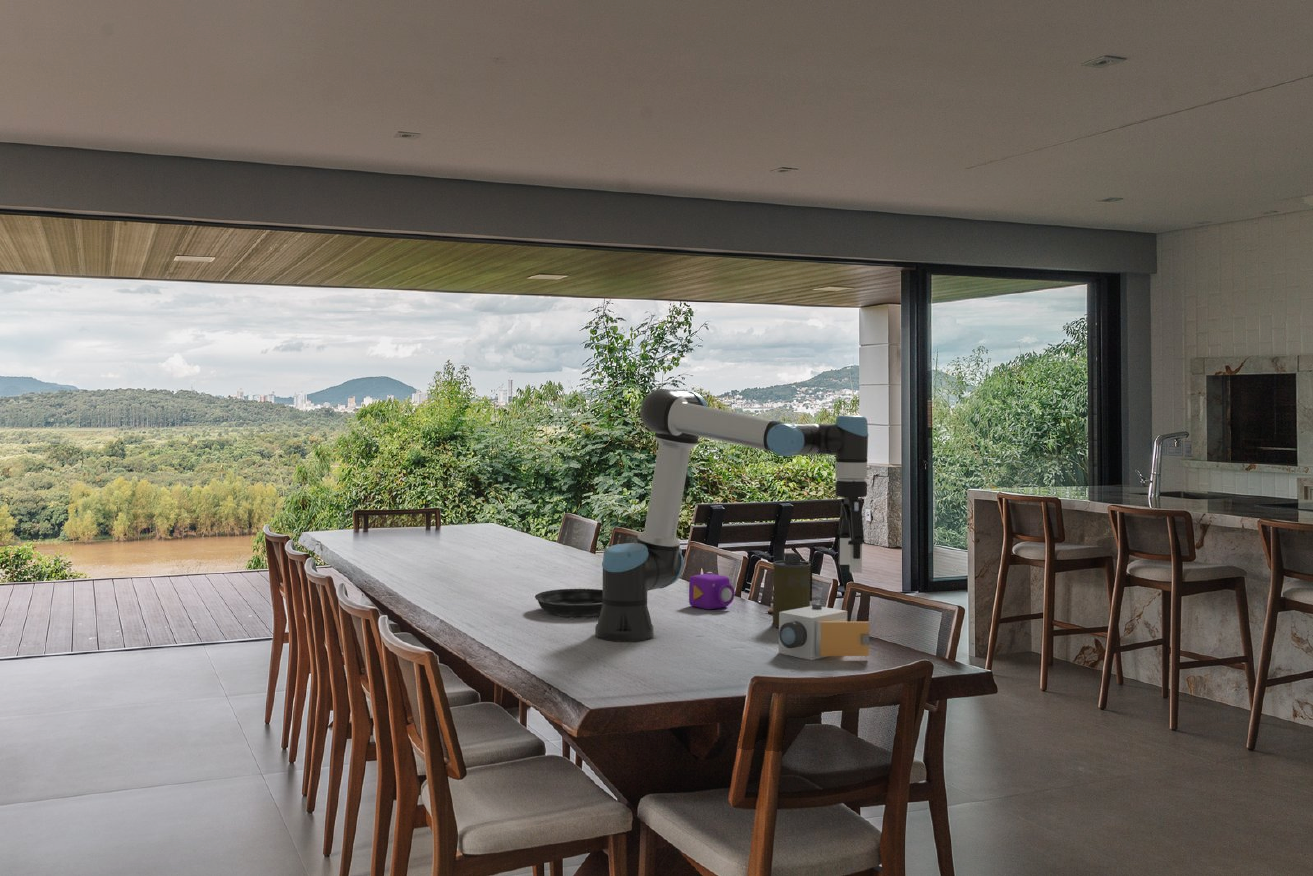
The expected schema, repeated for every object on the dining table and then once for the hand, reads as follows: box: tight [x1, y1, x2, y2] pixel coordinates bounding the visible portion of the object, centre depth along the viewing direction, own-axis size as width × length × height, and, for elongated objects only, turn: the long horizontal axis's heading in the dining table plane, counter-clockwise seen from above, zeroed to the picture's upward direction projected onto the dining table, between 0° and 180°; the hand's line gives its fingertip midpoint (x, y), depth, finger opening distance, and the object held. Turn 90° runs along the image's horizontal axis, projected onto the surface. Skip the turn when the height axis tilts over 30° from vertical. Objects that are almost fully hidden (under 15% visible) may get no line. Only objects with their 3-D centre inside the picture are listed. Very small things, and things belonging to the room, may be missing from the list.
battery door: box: [816, 621, 870, 657], centre depth 252 cm, size 13×2×8 cm, turn 94°
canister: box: [771, 552, 813, 629], centre depth 293 cm, size 11×10×20 cm
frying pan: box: [534, 588, 603, 619], centre depth 316 cm, size 44×25×7 cm, turn 137°
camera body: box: [778, 603, 848, 661], centre depth 259 cm, size 17×10×11 cm, turn 134°
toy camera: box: [688, 571, 735, 610], centre depth 319 cm, size 11×14×10 cm
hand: (850, 568), depth 256 cm, fingers open, 13 cm apart
